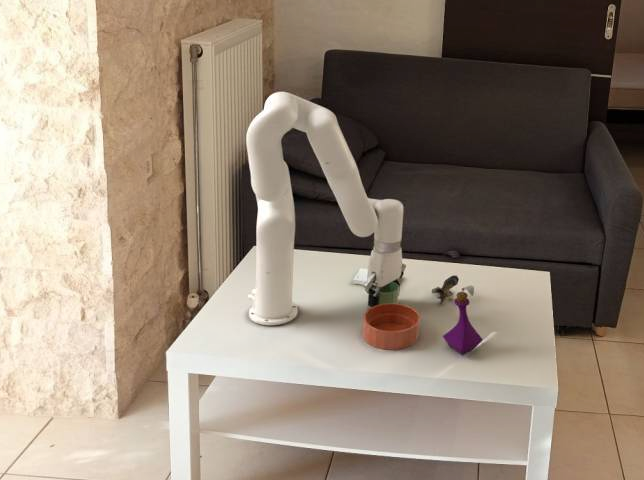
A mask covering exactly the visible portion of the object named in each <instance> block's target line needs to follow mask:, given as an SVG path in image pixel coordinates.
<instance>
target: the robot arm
mask: <svg viewBox="0 0 644 480" xmlns="http://www.w3.org/2000/svg"><path fill="white" fill-rule="evenodd" d="M292 129H294V130H295V129H296V130H298V131H301V132H303V133H306V138H307V140H308V142H309V144H310V146H311V148H312V150H313V152H314V154H315V156H316V159H317V160H318V162H319V165H320V167H321V170H322V172H323V175H324V176H325V178H326V180H327V184H328V185H329V187H330V189H331V191H332V193H333V195H334V197H335V199H336V202H337V204H338V206H339V208H340V211H341V213H342V215H343V217H344V219H345V221H346V224H347V226H348V228H349V230H350V232H351V233H352V234H353V235H355V236H357V237H359V238H366V237H370V236H371V235H373V249H372V250H371V252H370V256H369V261H368V267H367V269H368V274H367V280H366V282H365V283H364V284H363V285H362V286H363V288H364V291H365V292H366V293H367V294H368V297H367V306H368V307H370V308H371V307H373V306H377V305H378V301H379V296H378V295H377V294H378V292H379V290H380V288H381V287H383V286H385V285H387V284H388V283H390V282H395V283H397V284H398V286H399V292H401V291H400V289H401V283H402V282H403V280H402V278H403V276H404V272H405V270H406V267H407V265H406V264H405V263H403V251H402V237H403V224H404V223H403V221H404V205H403V203H402V202H401V201H400V200H398V199H393V198H386V199H385V198H384V199H375V198H369V197H368V196H367V193H366V190H365V188H364V185H363V183H362V179H361V176H360V171H359V169H358V165H357V163H356V160H355V158H354V156H353V154H352V152H351V150H350V147H349V146H348V143H347V141H346V138H345V137H344V134H343V132H342V130H341V127H340V126H339V122H338V118H337V117H336V114H335V113H334V112H333V111H331V110H330V109H329V108H326V107H324V106H322V105H319V104H317V103H314V102H312V101H310V100H308V99H305V98H303V97H300V96H298V95H296V94H293V93H291V92H287V91H277V92H273V93H271V95H269V96H268V97H267V99H266V100H265V103H264V107H263V110H262V111H260V113H258V114H257V115H256V116H255V117H254V118H253V120H252V121H251V122H250V123H249V126H248V128H247V130H246V131H247V132H246V136H245V142H246V150H247V157H248V165H249V172H250V185H251V189H252V191H253V193H254V194H255V199H256V203H257V218H256V230H255V231H256V232H255V233H256V234H255V235H256V248H255V249H256V252H255V253H256V254H255V255H256V256H255V267H256V268H255V287H254V288H253V289H252V290H251V293H249V294H248V296H247V299H248V300H251V301H252V306H251V307H250V308H249V311H248V317H249V319H250V320H251V321H252V322H254V323H255V324H258V325H261V326H279V325H283V324H286V323H289V322H291V321H292V320H294V319H295V318H296V317H297V315H298V310H299V309H298V306H297V304H296V303H294V302H293V287H294V286H293V283H294V258H295V257H294V254H295V251H294V250H295V235H296V211H295V202H294V196H293V190H292V183H291V176H290V169H289V166H288V164H287V162H286V161H285V160H284V153H283V147H282V139H283V137H284V135H285V134H286V133H288V132H289V131H291V130H292ZM375 282H377V283H378V284H376V283H375ZM374 286H376V289H375V291H374V290H373V287H374Z"/></svg>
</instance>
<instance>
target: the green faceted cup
mask: <svg viewBox="0 0 644 480" xmlns="http://www.w3.org/2000/svg"><path fill="white" fill-rule="evenodd" d="M375 283H376V284H378V283H377V282H375ZM375 289H376V286H374V287H373V290H374V291H375ZM377 295H378V296H379V301H378V305H380V304H387V303H395V304H399V297H400V291H399V286H398V284H397V283H395V282H390V283H388V284H387V285H385V286H383V287H381V288H380V290H379V292H378V294H377ZM370 308H372V307H370Z"/></svg>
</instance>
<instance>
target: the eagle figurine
mask: <svg viewBox="0 0 644 480" xmlns="http://www.w3.org/2000/svg"><path fill="white" fill-rule="evenodd" d="M459 280H460V278H459V277H458V275H456V274H455V275H454V274H453V275H451V276H449V277H447V278H446V279H445V280H444V281H443V284H442V286H441V287H440V286H436V287H434V288H432V289H431V294H436V293H437V294H438V295H439V296H437V297H436V298H437V299H438V300H440V301H439V306H440V305H442V304H443V303H444V302H445V300H446V299H447V298H448V299H450V300H451V301H453V298H452V296H453V295H454V292H452V291H451V290H452V289H453V288H454V287H456V286H457V285H458V283H459Z"/></svg>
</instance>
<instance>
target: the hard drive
mask: <svg viewBox="0 0 644 480" xmlns="http://www.w3.org/2000/svg"><path fill="white" fill-rule="evenodd" d="M367 274H368V268H363V267H360V269H358V271H357V273H356V275H355V276H354V277H353V279H352V284H353V285H360V286H361V285H362V286H363V284H364V283H365V282H366V280H367Z"/></svg>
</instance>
